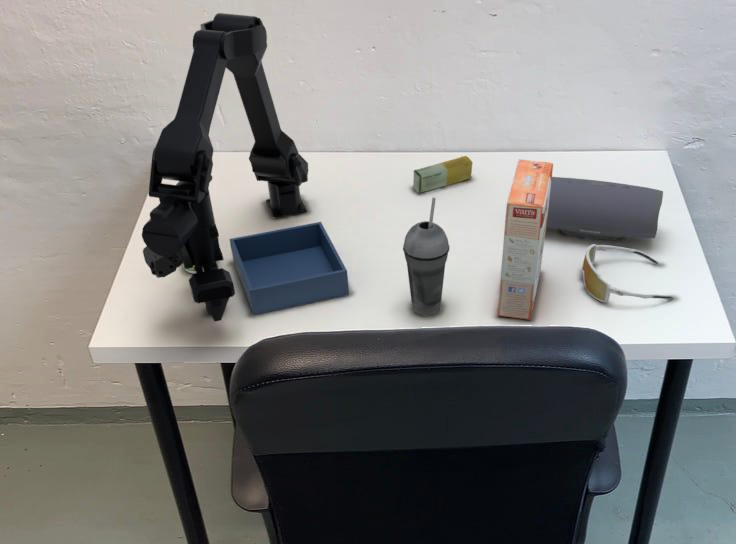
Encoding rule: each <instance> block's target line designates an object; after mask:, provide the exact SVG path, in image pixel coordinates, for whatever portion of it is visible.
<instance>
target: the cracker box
mask: <svg viewBox="0 0 736 544" xmlns="http://www.w3.org/2000/svg"><path fill="white" fill-rule="evenodd" d="M553 169H554V163H552V162H549V161H539V160H537V161H536V160H528V159H518V160H517V163H516V167H515V171H514V174H513V178H512V182H511V186H510V189H509V194H508V197H507V200H506V206H505V207H506V208H505V219H504V229H503V244H502V255H501V256H502V257H501V266H500V268H501V269H500V280H499V290H498V301H497V302H498V303H497V316H499V317H505V318H513V319H520V320H527V321H530V320H532V315H533V310H534V305H535V301H536V295H537V290H538V286H539V282H540V281H539V280H540V276H541V268H542V263H543V254H544V248H545V247H544V246H545V239H546V232H547V227H546V224H547V216H548V207H549V198H550V189H551V180H552V177H553Z"/></svg>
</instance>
